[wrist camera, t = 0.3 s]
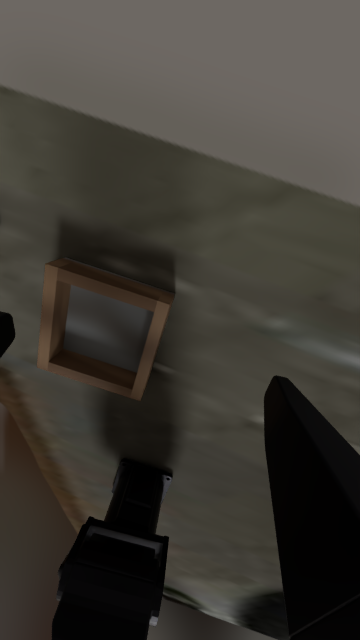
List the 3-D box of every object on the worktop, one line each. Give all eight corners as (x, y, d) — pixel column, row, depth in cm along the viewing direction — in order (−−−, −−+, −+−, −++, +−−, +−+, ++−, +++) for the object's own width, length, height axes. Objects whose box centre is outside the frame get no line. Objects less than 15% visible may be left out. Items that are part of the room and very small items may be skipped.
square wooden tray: (147, 382, 27) (140, 401, 24) (54, 351, 27) (37, 367, 24) (175, 293, 23) (170, 304, 20) (65, 257, 23) (45, 263, 20)
